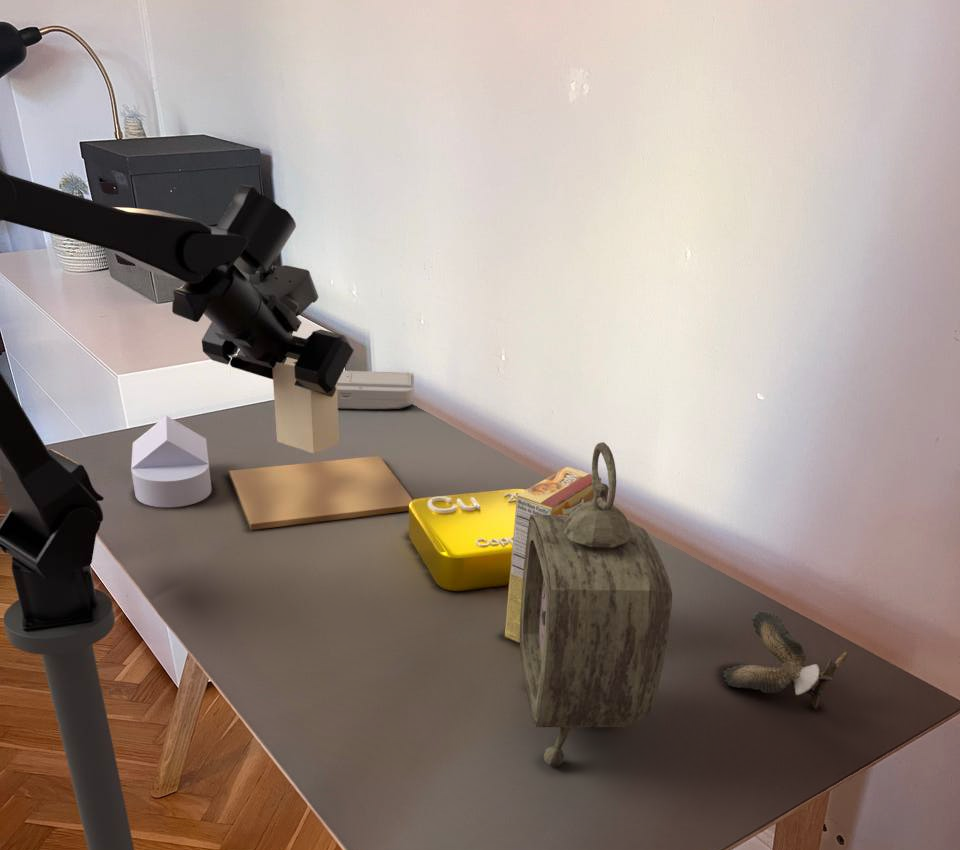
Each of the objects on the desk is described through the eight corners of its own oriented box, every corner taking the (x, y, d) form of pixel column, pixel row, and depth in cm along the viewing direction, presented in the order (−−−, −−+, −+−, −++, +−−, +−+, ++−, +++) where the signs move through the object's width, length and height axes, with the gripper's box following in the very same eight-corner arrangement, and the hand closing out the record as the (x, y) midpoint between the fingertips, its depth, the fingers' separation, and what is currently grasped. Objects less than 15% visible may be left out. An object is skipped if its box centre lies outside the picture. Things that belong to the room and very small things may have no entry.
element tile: (441, 595, 98) (443, 554, 96) (404, 531, 110) (404, 494, 107) (573, 578, 103) (578, 538, 100) (524, 519, 114) (527, 482, 112)
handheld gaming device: (413, 369, 150) (413, 393, 152) (320, 367, 149) (321, 390, 151) (413, 386, 143) (413, 411, 144) (315, 384, 141) (316, 409, 143)
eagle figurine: (839, 669, 88) (751, 623, 91) (857, 639, 81) (762, 590, 84) (800, 735, 86) (712, 686, 89) (815, 709, 79) (719, 657, 82)
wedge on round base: (136, 467, 122) (134, 509, 111) (128, 417, 118) (125, 456, 108) (208, 463, 124) (213, 504, 114) (203, 413, 121) (207, 451, 110)
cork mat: (250, 530, 108) (250, 524, 108) (229, 476, 121) (228, 470, 120) (416, 510, 115) (416, 504, 115) (379, 461, 128) (379, 455, 127)
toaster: (313, 454, 112) (310, 370, 107) (276, 441, 115) (271, 359, 109) (345, 440, 116) (343, 359, 111) (308, 429, 119) (305, 349, 114)
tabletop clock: (514, 675, 86) (536, 412, 73) (611, 675, 87) (650, 415, 74) (533, 781, 74) (564, 489, 61) (646, 779, 75) (700, 491, 62)
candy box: (550, 602, 98) (564, 464, 90) (585, 616, 96) (603, 476, 88) (502, 638, 92) (513, 493, 84) (539, 653, 90) (554, 507, 82)
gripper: (339, 258, 96) (405, 345, 109) (210, 231, 104) (286, 315, 118) (289, 351, 94) (362, 428, 108) (162, 317, 102) (245, 392, 116)
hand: (313, 387), depth 112 cm, fingers closed on toaster, 6 cm apart
